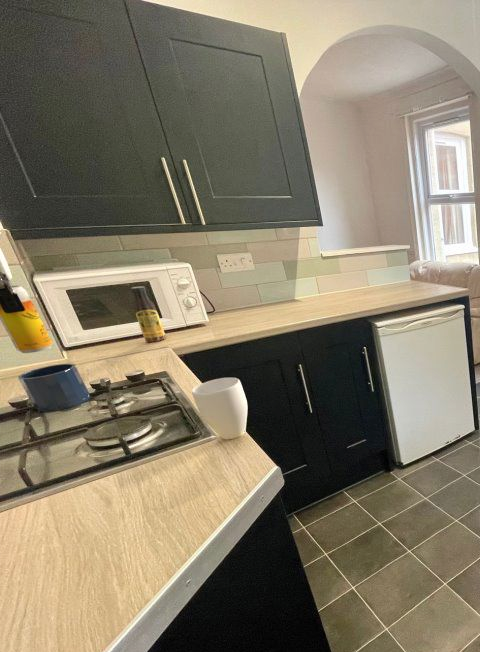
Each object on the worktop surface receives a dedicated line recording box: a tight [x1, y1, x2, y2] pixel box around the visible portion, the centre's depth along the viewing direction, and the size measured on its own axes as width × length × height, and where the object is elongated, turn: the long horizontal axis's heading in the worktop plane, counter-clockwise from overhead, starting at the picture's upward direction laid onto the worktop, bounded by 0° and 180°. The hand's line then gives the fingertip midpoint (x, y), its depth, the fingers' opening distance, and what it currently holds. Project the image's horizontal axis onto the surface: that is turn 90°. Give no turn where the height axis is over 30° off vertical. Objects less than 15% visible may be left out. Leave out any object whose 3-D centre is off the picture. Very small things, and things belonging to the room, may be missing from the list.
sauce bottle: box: [130, 286, 166, 343], centre depth 154 cm, size 6×6×20 cm
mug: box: [191, 377, 249, 440], centre depth 87 cm, size 12×8×11 cm
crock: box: [17, 363, 92, 413], centre depth 106 cm, size 10×10×9 cm
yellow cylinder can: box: [0, 285, 54, 354], centre depth 99 cm, size 6×6×15 cm
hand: (15, 309), depth 98 cm, fingers closed on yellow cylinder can, 6 cm apart
